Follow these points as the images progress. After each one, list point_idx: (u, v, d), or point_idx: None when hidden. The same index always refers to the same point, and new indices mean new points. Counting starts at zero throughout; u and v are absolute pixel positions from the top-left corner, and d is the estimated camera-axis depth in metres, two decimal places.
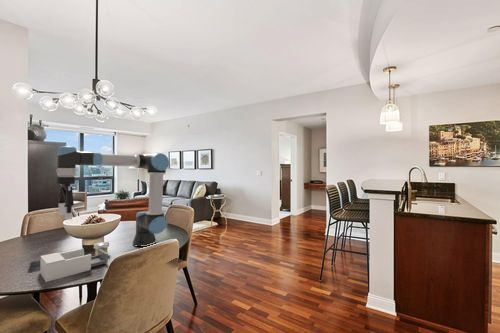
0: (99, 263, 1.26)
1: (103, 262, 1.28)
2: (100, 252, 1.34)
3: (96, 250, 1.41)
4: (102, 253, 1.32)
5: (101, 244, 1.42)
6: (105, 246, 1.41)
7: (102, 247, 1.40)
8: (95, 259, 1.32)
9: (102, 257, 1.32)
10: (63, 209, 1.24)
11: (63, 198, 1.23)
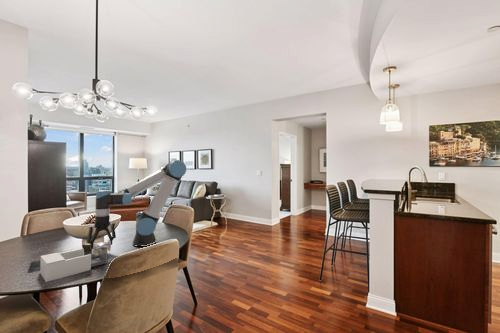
0: (99, 263, 1.26)
1: (103, 262, 1.28)
2: (100, 252, 1.34)
3: (96, 250, 1.41)
4: (102, 253, 1.32)
5: (101, 244, 1.42)
6: (105, 246, 1.41)
7: (102, 247, 1.40)
8: (95, 259, 1.32)
9: (102, 257, 1.32)
10: None
11: (108, 235, 1.45)
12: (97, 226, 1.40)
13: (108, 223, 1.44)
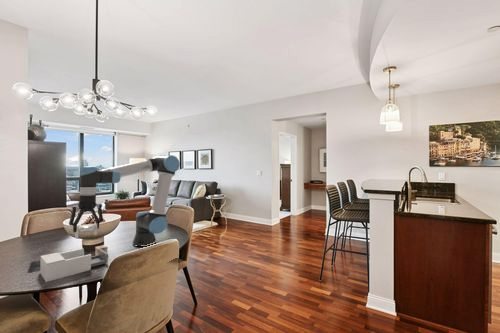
0: (99, 263, 1.26)
1: (103, 262, 1.28)
2: (100, 252, 1.34)
3: (96, 250, 1.41)
4: (102, 253, 1.32)
5: (86, 227, 1.26)
6: (90, 229, 1.25)
7: (87, 230, 1.23)
8: (95, 259, 1.32)
9: (102, 257, 1.32)
10: (95, 229, 1.29)
11: (94, 217, 1.29)
12: (81, 206, 1.24)
13: (94, 204, 1.28)
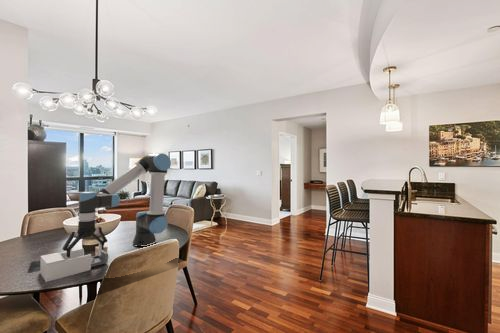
0: (99, 263, 1.26)
1: (103, 262, 1.28)
2: None
3: (96, 250, 1.41)
4: (102, 253, 1.32)
5: None
6: None
7: None
8: (95, 259, 1.32)
9: (102, 257, 1.32)
10: (99, 250, 1.31)
11: (97, 240, 1.30)
12: (80, 233, 1.23)
13: (93, 229, 1.28)
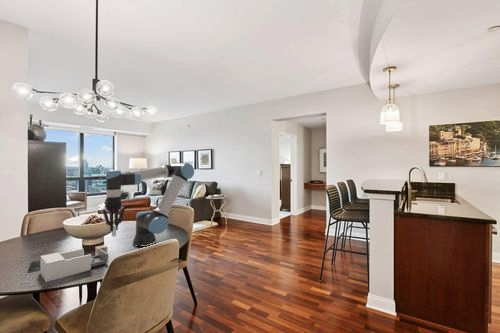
0: (99, 263, 1.26)
1: (103, 262, 1.28)
2: (100, 252, 1.34)
3: (96, 250, 1.41)
4: (102, 253, 1.32)
5: None
6: None
7: None
8: (95, 259, 1.32)
9: (102, 257, 1.32)
10: None
11: (115, 218, 1.37)
12: (109, 207, 1.34)
13: (120, 205, 1.38)
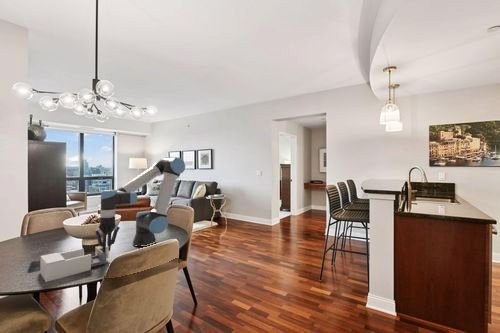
0: (97, 263, 1.26)
1: (101, 262, 1.27)
2: (99, 252, 1.33)
3: (96, 250, 1.41)
4: (100, 253, 1.31)
5: None
6: None
7: None
8: (93, 259, 1.31)
9: (100, 257, 1.31)
10: None
11: (108, 239, 1.34)
12: (102, 228, 1.31)
13: (114, 225, 1.36)
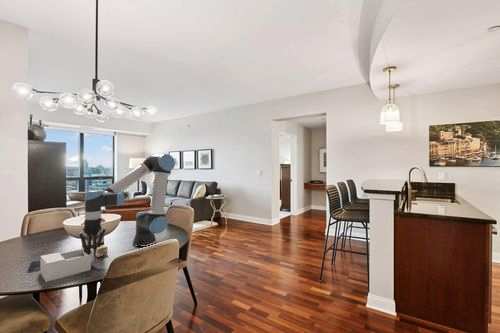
0: None
1: None
2: None
3: (96, 250, 1.41)
4: None
5: None
6: None
7: None
8: None
9: None
10: None
11: (93, 242, 1.29)
12: (87, 230, 1.26)
13: (99, 227, 1.30)
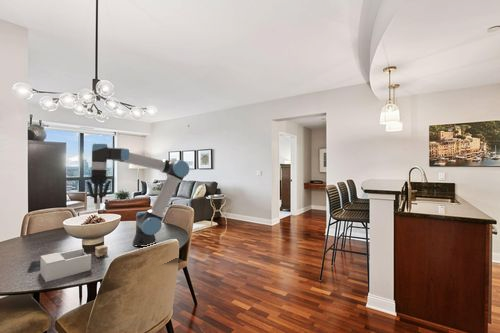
0: None
1: None
2: None
3: (96, 250, 1.41)
4: None
5: None
6: None
7: None
8: None
9: None
10: None
11: (99, 191, 1.38)
12: (94, 179, 1.35)
13: (105, 178, 1.39)
